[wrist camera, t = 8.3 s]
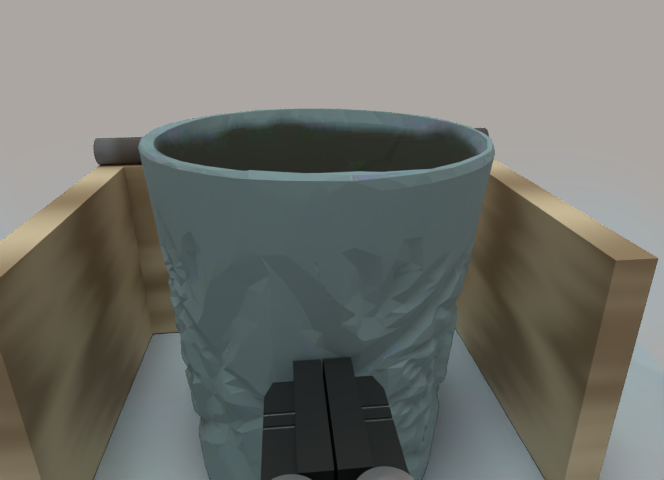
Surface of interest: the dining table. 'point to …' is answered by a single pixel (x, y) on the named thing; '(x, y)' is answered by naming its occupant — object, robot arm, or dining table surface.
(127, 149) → the oak caddy
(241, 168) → the green ceramic pot
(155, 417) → the dining table surface
